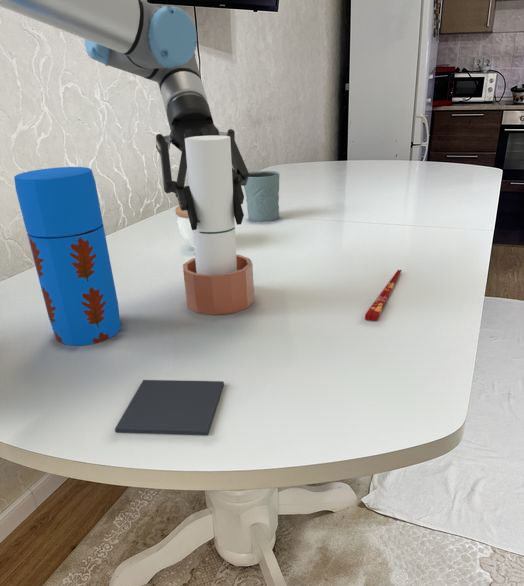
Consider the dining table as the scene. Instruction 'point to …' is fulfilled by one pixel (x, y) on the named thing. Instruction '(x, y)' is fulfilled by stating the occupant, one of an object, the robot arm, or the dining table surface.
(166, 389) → the mat
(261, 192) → the grey-green textured cup
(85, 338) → the thermos
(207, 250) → the cylindrical container
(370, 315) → the chopstick
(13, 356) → the dining table surface
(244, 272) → the crock
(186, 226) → the lidded bowl
